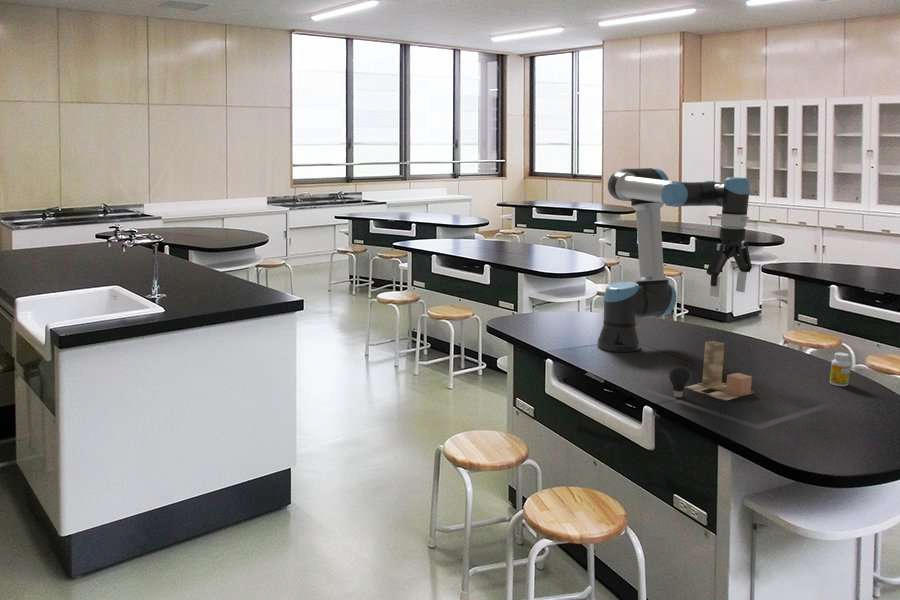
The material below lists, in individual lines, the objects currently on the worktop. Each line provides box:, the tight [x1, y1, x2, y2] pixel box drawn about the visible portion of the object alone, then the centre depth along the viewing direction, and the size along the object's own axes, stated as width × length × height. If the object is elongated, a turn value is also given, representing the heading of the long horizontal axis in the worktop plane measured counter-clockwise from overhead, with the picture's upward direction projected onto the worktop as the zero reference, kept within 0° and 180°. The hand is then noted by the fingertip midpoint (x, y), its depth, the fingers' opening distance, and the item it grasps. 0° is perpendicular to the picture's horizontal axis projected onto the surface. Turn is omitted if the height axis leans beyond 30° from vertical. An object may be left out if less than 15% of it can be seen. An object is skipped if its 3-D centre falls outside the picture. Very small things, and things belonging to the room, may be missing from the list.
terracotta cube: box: [726, 372, 753, 397], centre depth 244 cm, size 5×5×5 cm
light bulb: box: [669, 365, 690, 400], centre depth 239 cm, size 6×6×10 cm
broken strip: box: [686, 383, 738, 401], centre depth 244 cm, size 15×5×1 cm, turn 35°
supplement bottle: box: [829, 352, 851, 387], centre depth 256 cm, size 5×5×10 cm
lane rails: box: [684, 382, 755, 402], centre depth 246 cm, size 15×14×1 cm
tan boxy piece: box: [700, 340, 753, 397], centre depth 246 cm, size 15×5×14 cm, turn 35°
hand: (727, 294), depth 261 cm, fingers open, 13 cm apart
